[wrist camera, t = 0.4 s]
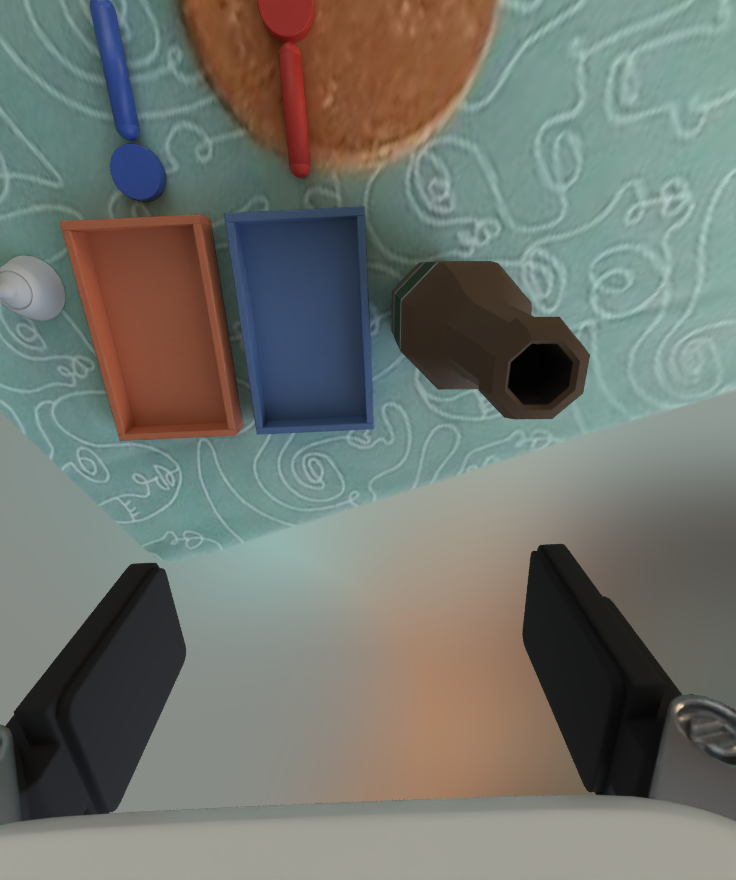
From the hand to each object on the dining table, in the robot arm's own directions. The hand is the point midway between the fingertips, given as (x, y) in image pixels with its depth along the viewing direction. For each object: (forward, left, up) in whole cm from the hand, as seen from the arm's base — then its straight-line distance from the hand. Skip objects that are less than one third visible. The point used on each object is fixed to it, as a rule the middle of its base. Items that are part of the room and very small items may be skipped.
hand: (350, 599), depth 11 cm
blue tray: (-3, -4, -29) cm, 30 cm away
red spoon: (-20, -4, -29) cm, 36 cm away
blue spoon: (-19, -16, -29) cm, 38 cm away
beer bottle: (-4, +6, -29) cm, 30 cm away
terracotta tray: (-3, -16, -29) cm, 33 cm away
